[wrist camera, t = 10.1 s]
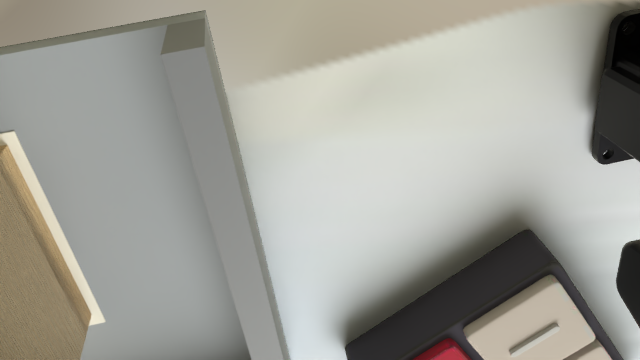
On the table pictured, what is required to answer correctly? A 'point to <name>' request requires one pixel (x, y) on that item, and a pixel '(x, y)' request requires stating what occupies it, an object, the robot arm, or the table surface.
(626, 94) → the robot arm
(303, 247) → the table surface
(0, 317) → the bracket
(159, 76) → the arena
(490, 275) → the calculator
